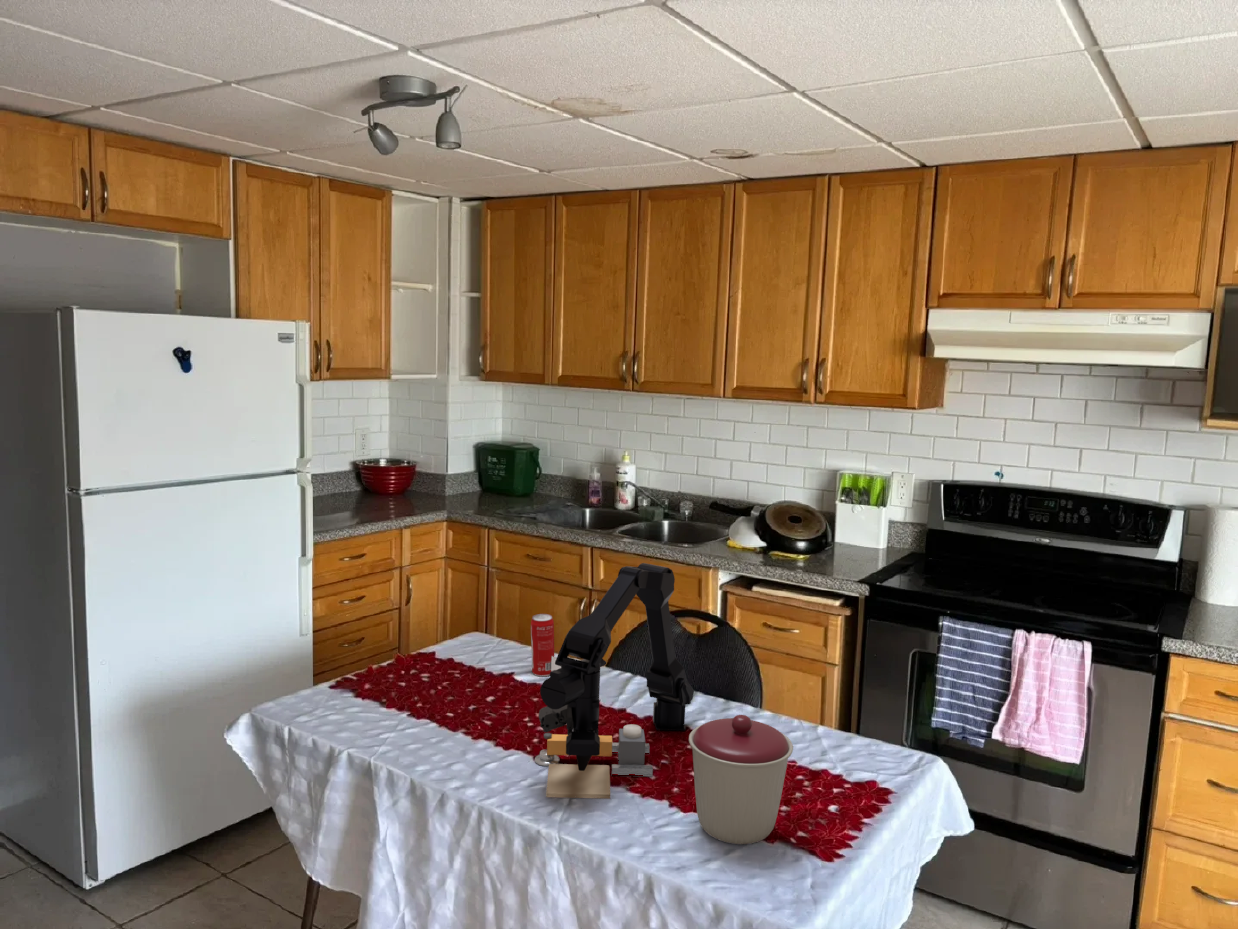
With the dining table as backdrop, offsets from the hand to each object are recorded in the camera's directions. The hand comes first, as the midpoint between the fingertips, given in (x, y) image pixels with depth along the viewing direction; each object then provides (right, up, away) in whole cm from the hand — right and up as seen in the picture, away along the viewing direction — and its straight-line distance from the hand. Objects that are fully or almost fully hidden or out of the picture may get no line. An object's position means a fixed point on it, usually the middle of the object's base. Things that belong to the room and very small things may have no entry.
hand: (581, 770), depth 181 cm
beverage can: (-12, +6, +57) cm, 59 cm away
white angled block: (-6, +3, +44) cm, 44 cm away
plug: (+10, -2, +10) cm, 14 cm away
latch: (-1, +1, +9) cm, 9 cm away
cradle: (+2, -1, +9) cm, 10 cm away
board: (-1, -3, 0) cm, 3 cm away
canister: (+28, -6, -14) cm, 32 cm away
